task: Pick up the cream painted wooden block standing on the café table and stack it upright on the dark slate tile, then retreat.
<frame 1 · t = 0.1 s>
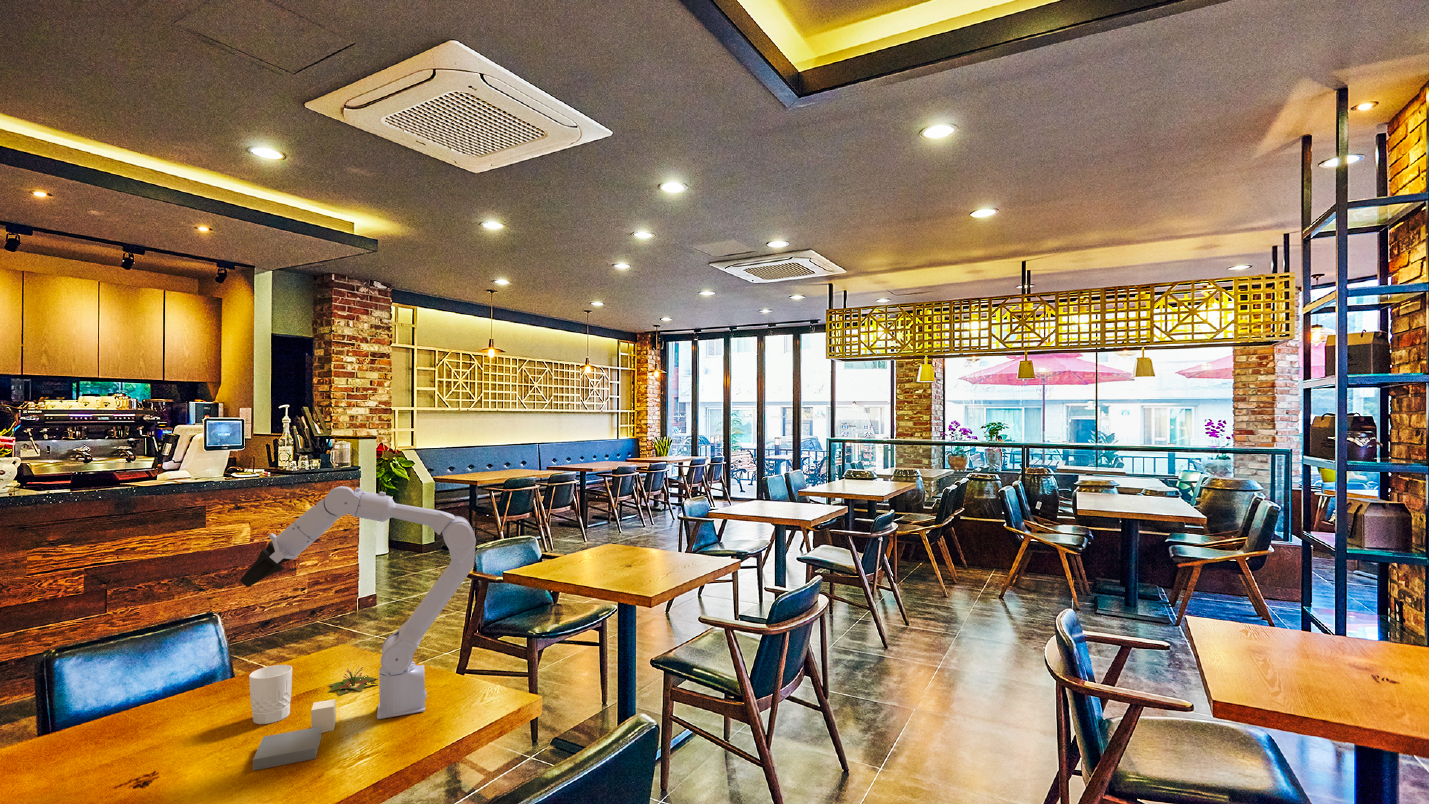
hand: (247, 579, 141), 32 cm above the table, tool tilted 50°, fingers open, 7 cm apart
slate tile: (288, 752, 133), on the table
white cup: (271, 718, 149), on the table
cream block: (323, 728, 144), on the table
lily flower: (353, 688, 166), on the table
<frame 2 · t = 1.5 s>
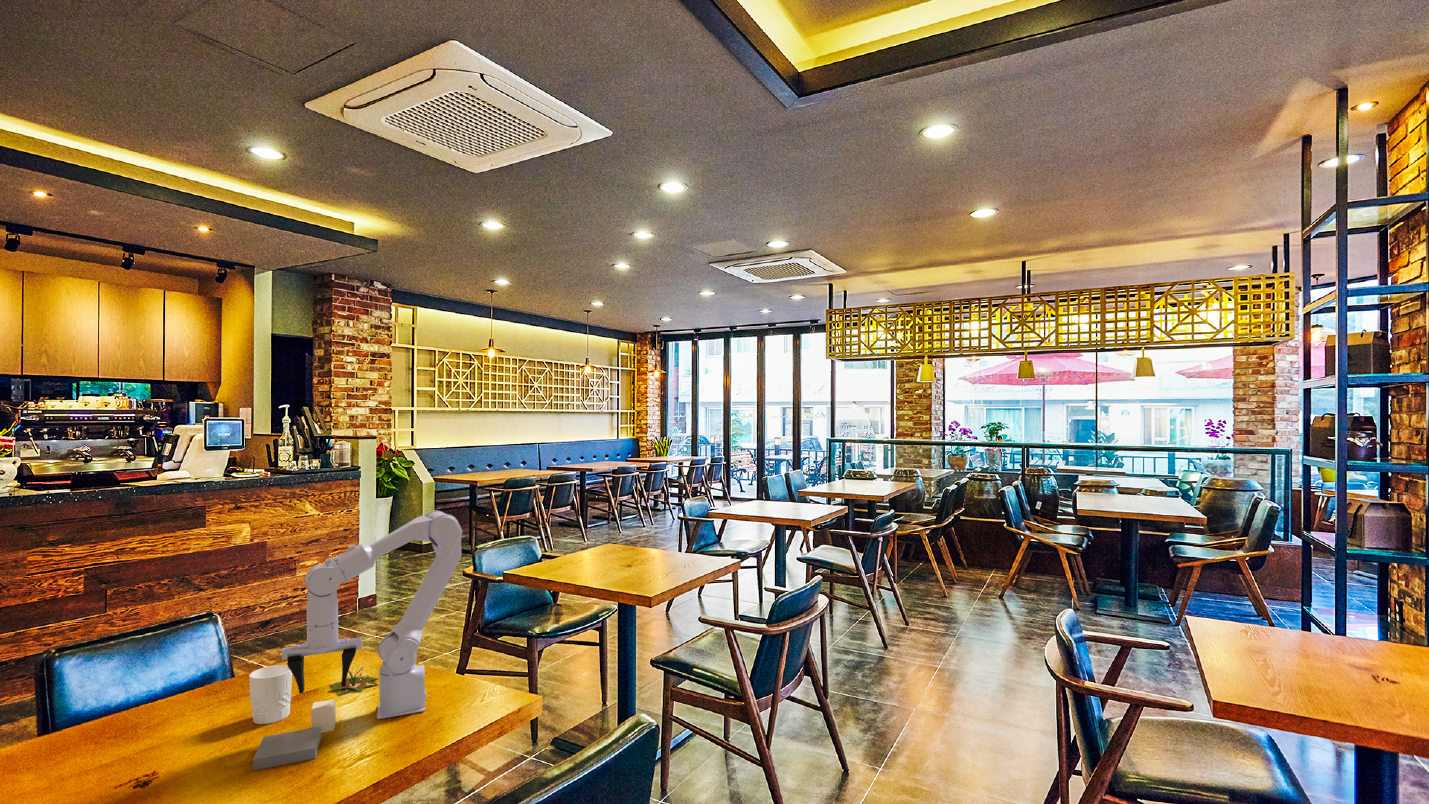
hand: (323, 688, 144), 8 cm above the table, tool pointing down, fingers open, 7 cm apart
nothing on the table moved.
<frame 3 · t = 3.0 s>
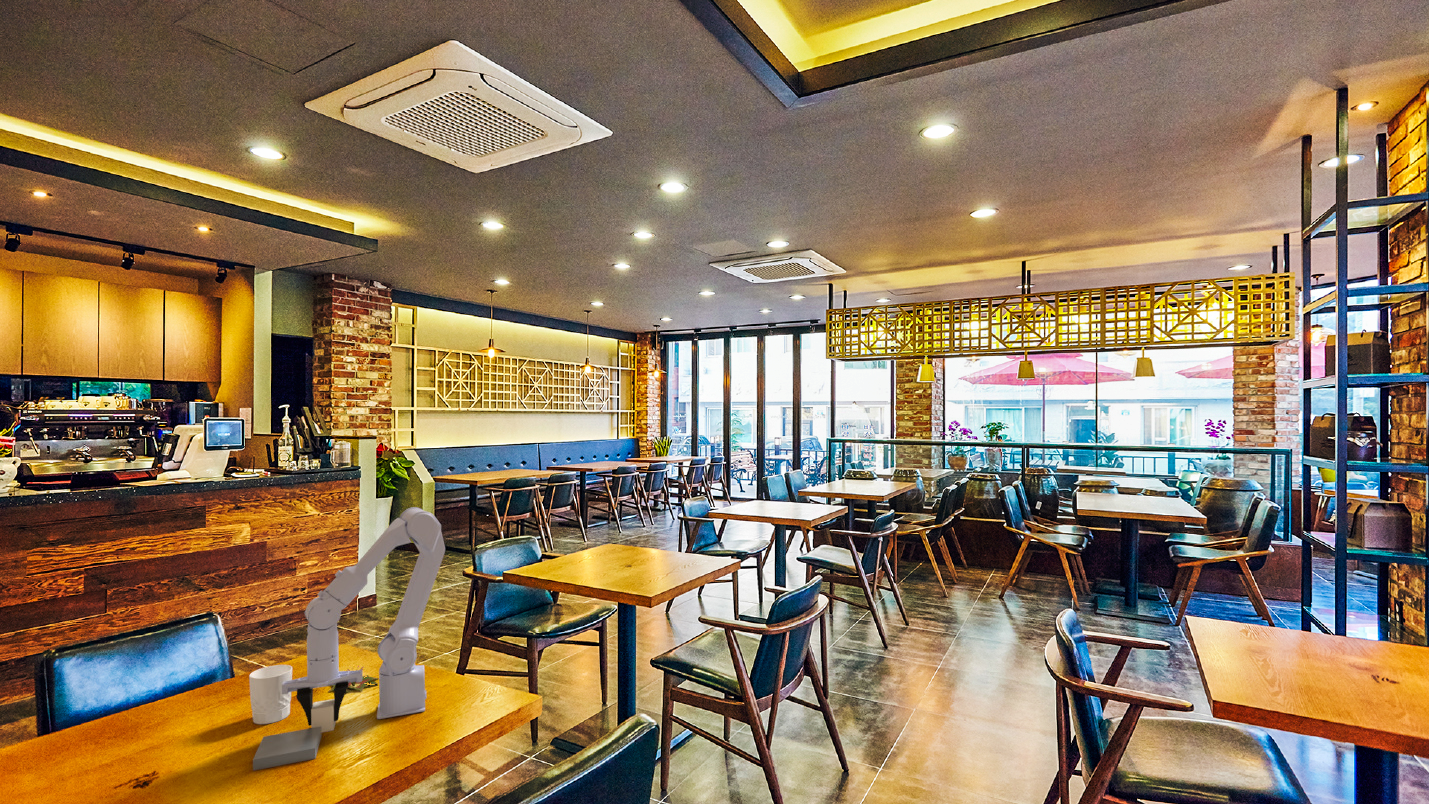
hand: (323, 721, 144), 1 cm above the table, tool pointing down, fingers closed on cream block, 4 cm apart
cream block: (323, 728, 144), on the table, touching gripper
everything else where it was.
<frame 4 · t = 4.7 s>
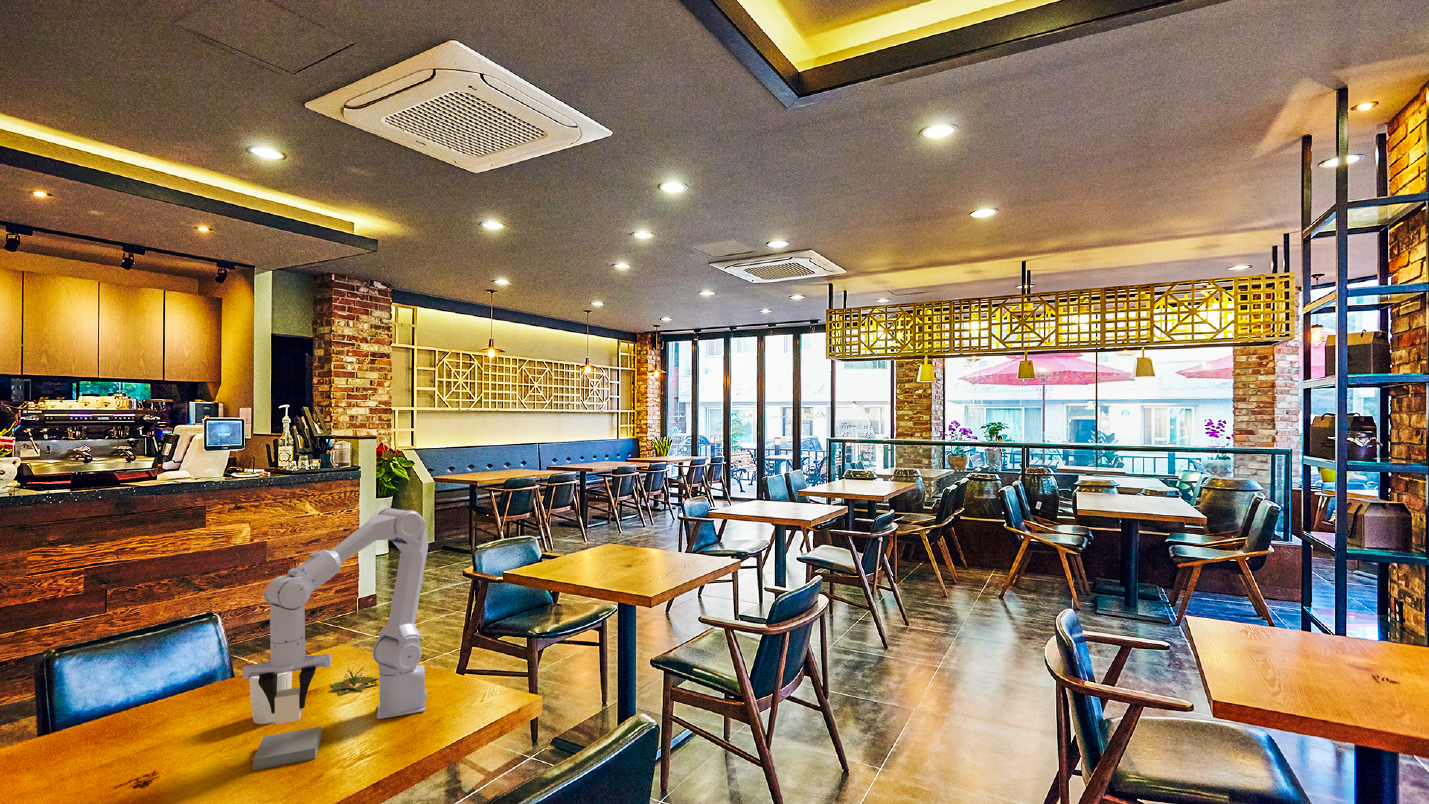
hand: (288, 709, 134), 8 cm above the table, tool pointing down, fingers closed on cream block, 4 cm apart
cream block: (288, 718, 134), point 7 cm above the table, touching gripper
everything else where it was.
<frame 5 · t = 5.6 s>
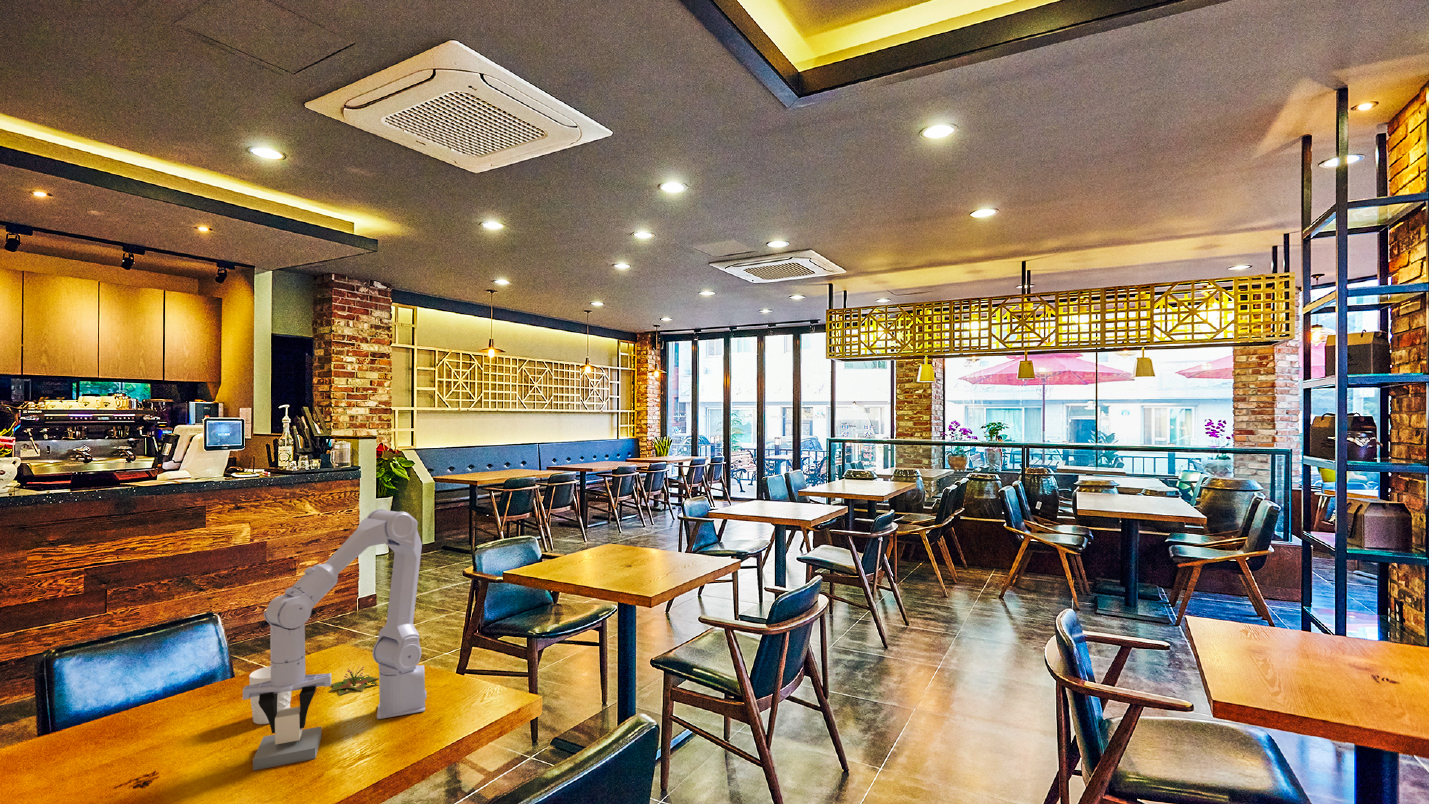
hand: (288, 728, 133), 5 cm above the table, tool pointing down, fingers closed on cream block, 4 cm apart
cream block: (289, 737, 134), point 3 cm above the table, touching gripper
everything else where it was.
when the fingers open (5 cm above the table, at t = 6.2 s): cream block stays where it is, resting on slate tile.
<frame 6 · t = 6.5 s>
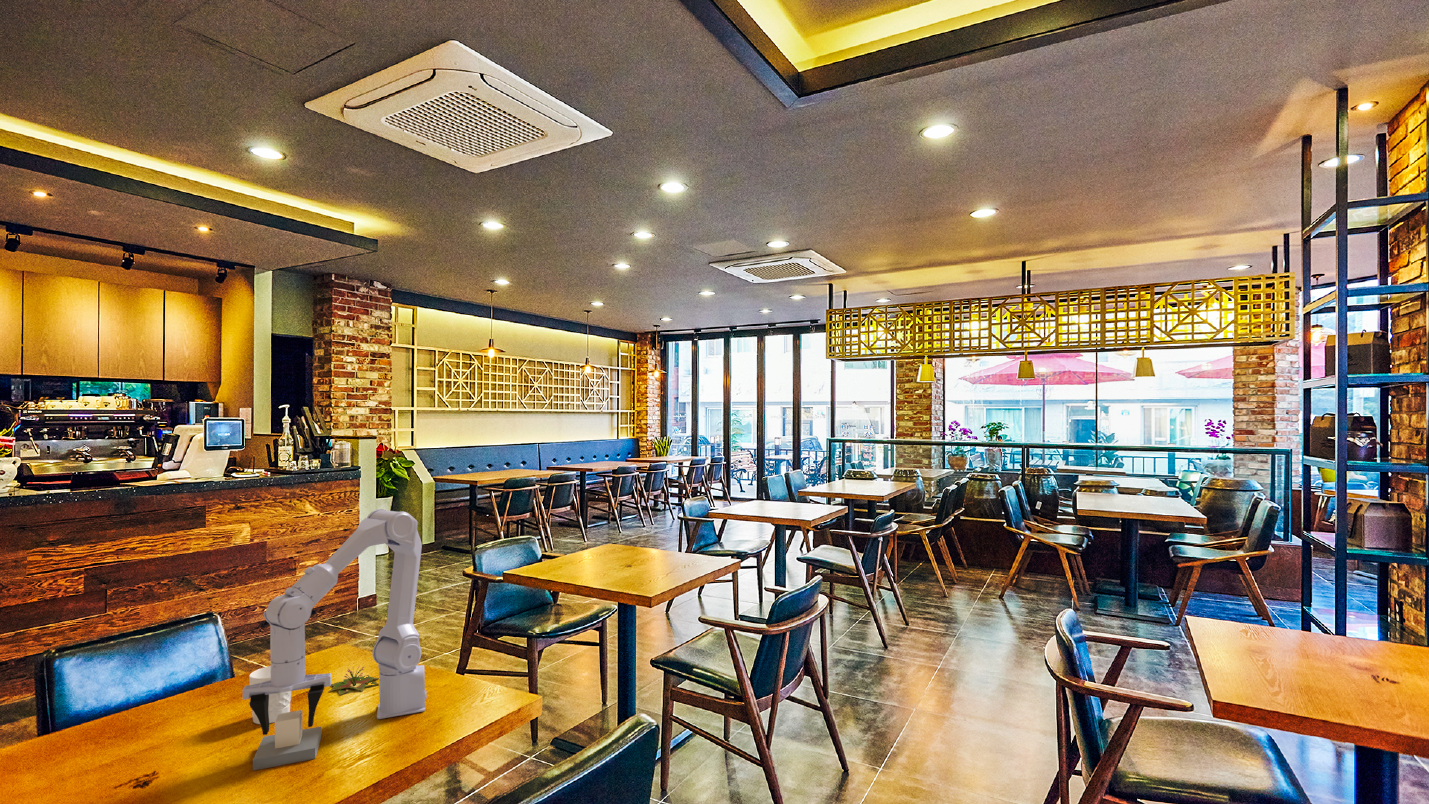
hand: (288, 728, 133), 5 cm above the table, tool pointing down, fingers open, 7 cm apart
cream block: (289, 741, 134), point 2 cm above the table, touching slate tile
everything else where it was.
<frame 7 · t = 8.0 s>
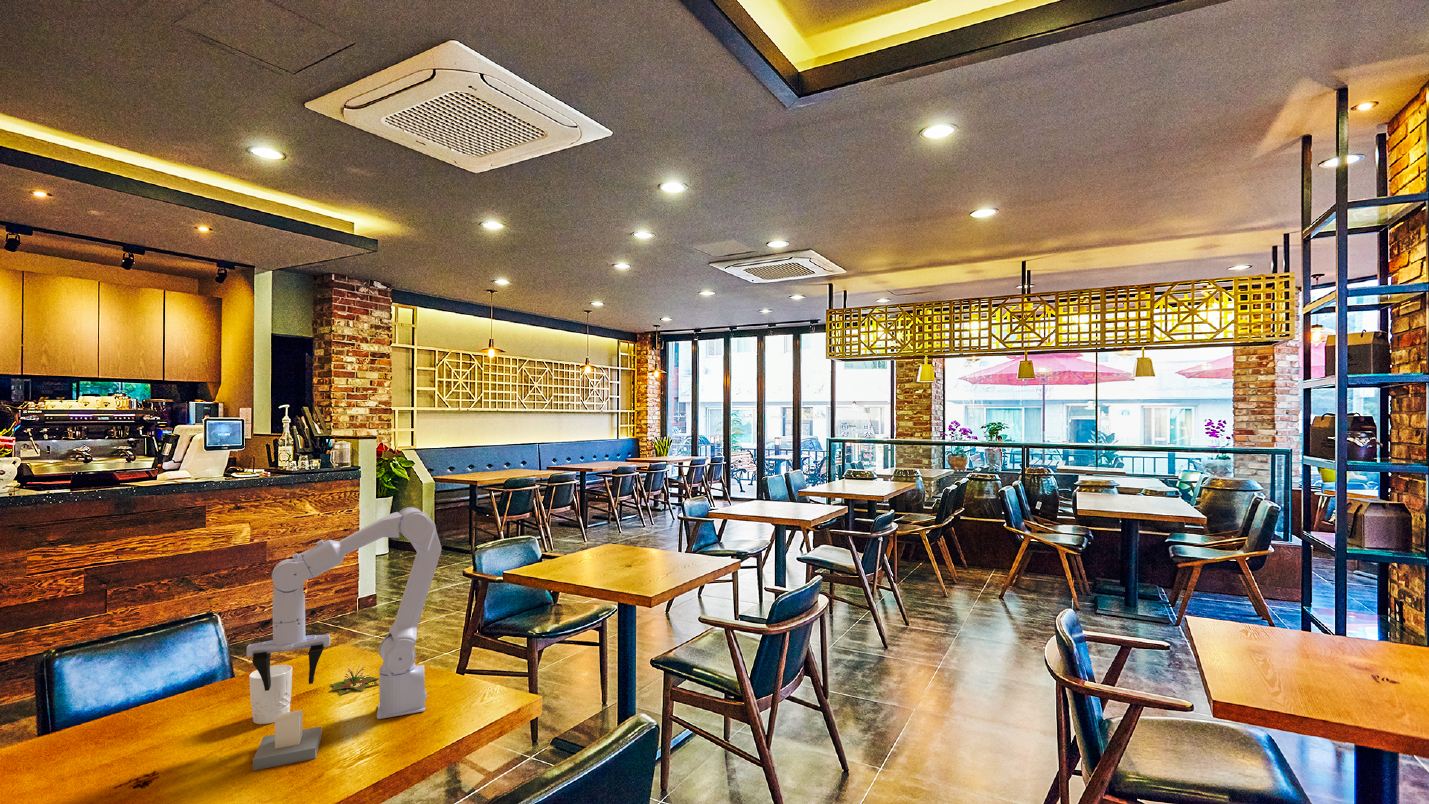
hand: (289, 685, 141), 10 cm above the table, tool pointing down, fingers open, 7 cm apart
nothing on the table moved.
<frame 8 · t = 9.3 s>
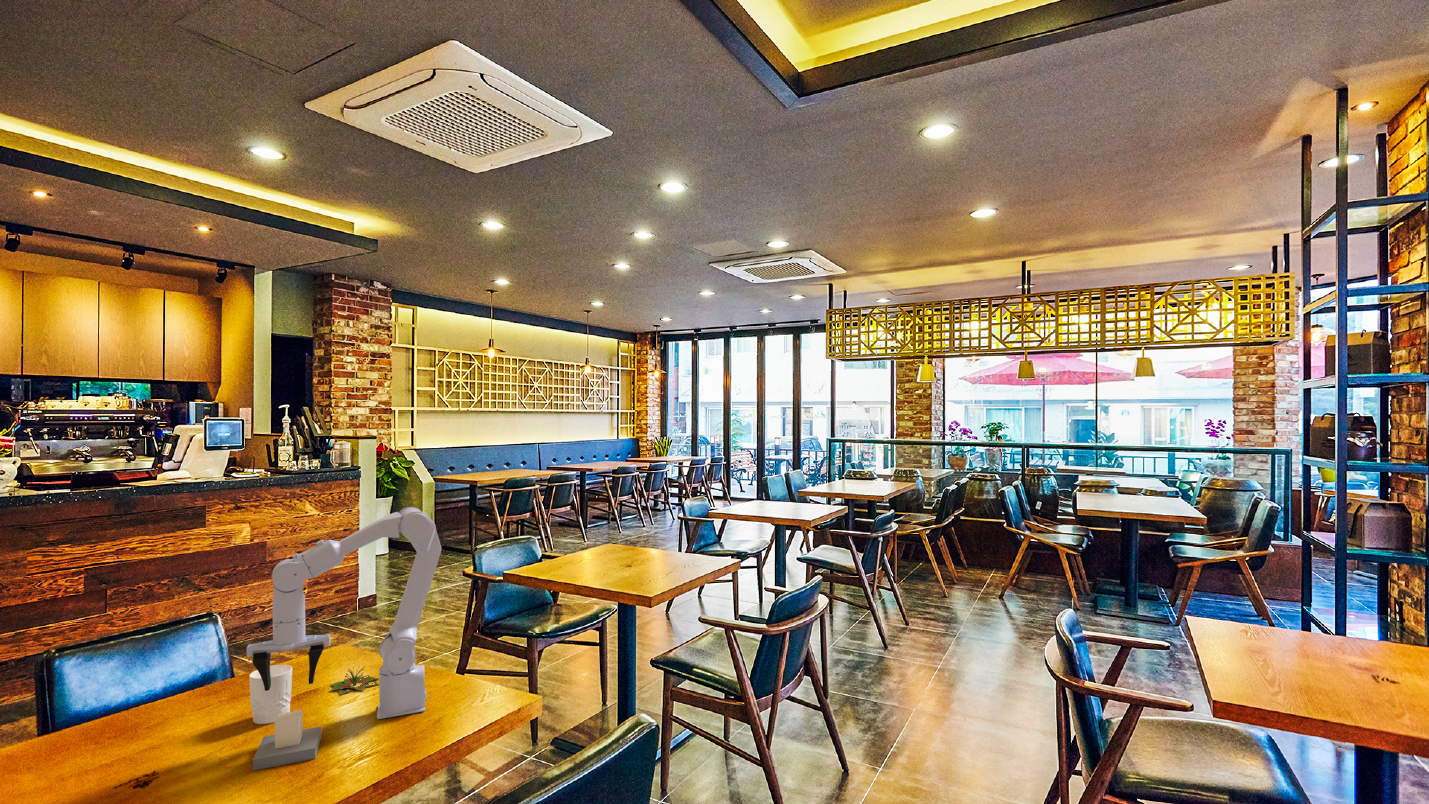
hand: (289, 685, 141), 10 cm above the table, tool pointing down, fingers open, 7 cm apart
nothing on the table moved.
at the end: cream block 0.2 cm off-centre on the slate tile, point 2.0 cm above the slate tile's base; cream block tilted 0°; the gripper is holding nothing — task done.
